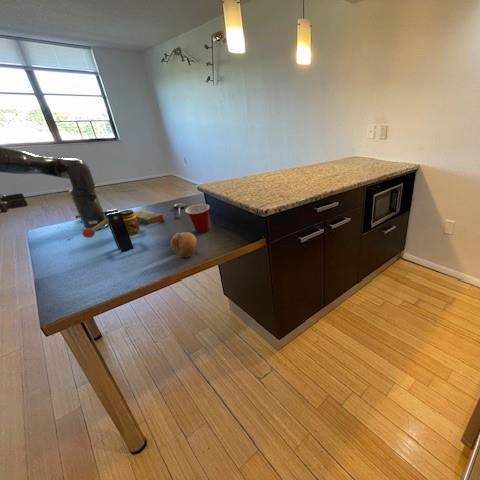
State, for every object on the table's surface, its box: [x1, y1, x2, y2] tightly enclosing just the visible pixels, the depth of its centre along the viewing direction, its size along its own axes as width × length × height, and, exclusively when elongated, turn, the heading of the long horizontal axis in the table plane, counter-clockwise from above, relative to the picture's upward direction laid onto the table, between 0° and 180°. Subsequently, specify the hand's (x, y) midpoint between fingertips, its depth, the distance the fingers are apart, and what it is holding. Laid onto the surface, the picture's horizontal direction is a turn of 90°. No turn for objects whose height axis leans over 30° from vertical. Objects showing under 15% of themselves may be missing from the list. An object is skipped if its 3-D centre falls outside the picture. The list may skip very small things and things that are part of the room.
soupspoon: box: [174, 202, 187, 219], centre depth 150 cm, size 22×3×7 cm
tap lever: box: [81, 211, 114, 239], centre depth 99 cm, size 13×4×4 cm, turn 138°
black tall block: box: [103, 208, 135, 253], centre depth 105 cm, size 12×9×18 cm
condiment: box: [120, 209, 142, 236], centre depth 119 cm, size 7×8×12 cm
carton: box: [133, 209, 165, 226], centre depth 136 cm, size 8×16×4 cm, turn 64°
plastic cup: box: [184, 203, 210, 234], centre depth 125 cm, size 11×11×12 cm
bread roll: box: [170, 231, 198, 258], centre depth 108 cm, size 10×15×8 cm, turn 25°
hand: (25, 199), depth 83 cm, fingers open, 8 cm apart
